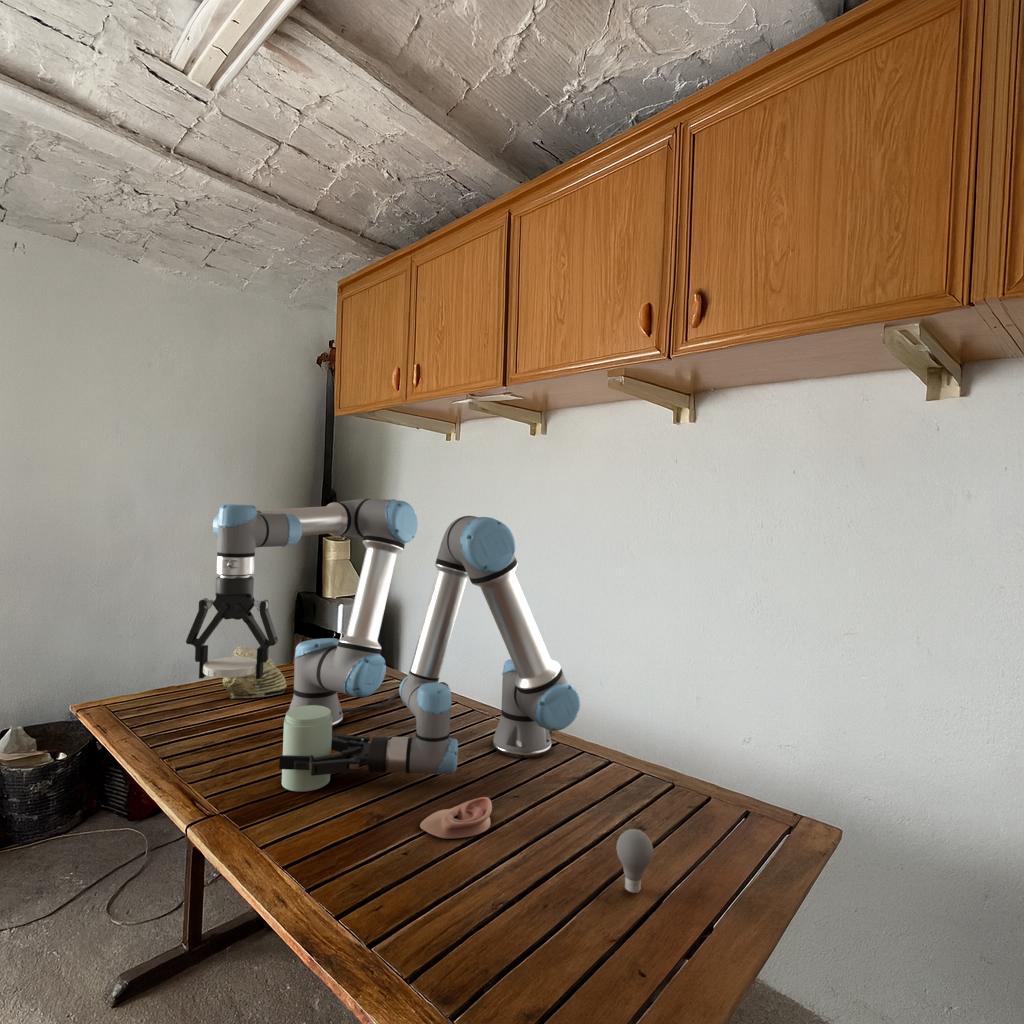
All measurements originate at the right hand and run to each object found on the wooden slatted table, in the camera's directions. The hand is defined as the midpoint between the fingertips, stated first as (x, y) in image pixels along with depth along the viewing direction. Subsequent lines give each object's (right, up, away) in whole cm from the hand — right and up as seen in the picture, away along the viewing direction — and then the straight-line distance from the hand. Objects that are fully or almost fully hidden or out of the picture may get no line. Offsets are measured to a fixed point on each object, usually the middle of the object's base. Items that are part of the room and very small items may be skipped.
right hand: (288, 751), depth 141 cm
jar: (+4, -7, 0) cm, 8 cm away
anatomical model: (+39, -8, -16) cm, 43 cm away
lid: (-11, +20, -4) cm, 23 cm away
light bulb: (+70, -10, -35) cm, 79 cm away
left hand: (-11, +18, -4) cm, 21 cm away
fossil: (-31, -4, +57) cm, 65 cm away
